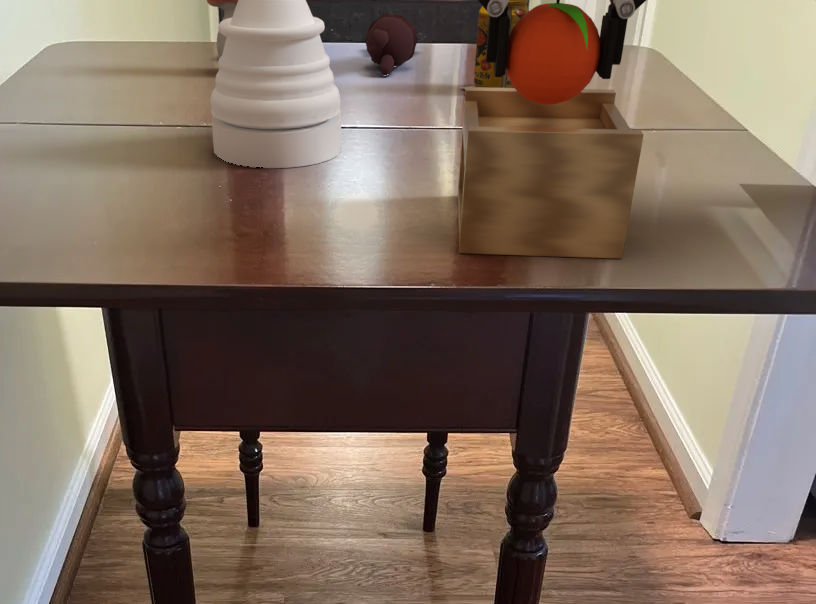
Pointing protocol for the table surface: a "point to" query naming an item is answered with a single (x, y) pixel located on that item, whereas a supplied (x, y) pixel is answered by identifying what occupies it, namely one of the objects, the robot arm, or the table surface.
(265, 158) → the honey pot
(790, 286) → the table surface
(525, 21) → the clementine
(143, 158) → the table surface
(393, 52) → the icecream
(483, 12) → the yellow drink can
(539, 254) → the wooden box
